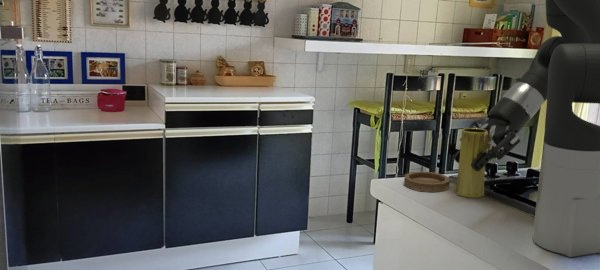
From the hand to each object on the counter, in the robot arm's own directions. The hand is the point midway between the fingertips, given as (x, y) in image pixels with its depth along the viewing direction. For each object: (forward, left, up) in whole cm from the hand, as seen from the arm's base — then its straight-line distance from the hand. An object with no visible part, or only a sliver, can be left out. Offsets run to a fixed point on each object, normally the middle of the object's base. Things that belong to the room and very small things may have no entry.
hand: (465, 164), depth 107 cm
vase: (0, -2, -7) cm, 7 cm away
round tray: (+8, +4, -7) cm, 11 cm away
